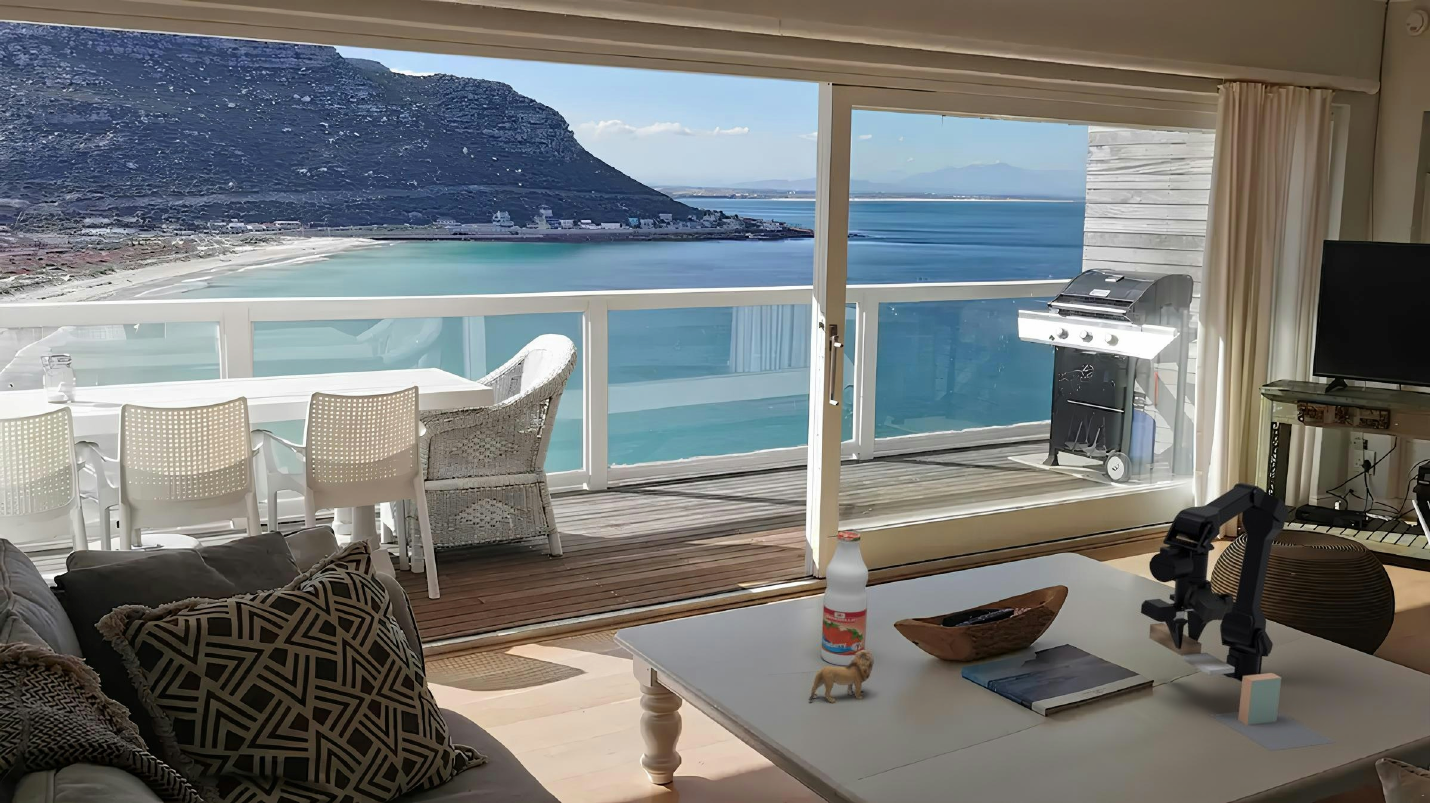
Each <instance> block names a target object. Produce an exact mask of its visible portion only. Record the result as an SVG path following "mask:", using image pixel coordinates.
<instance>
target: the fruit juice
mask: <svg viewBox="0 0 1430 803" xmlns="http://www.w3.org/2000/svg"><path fill="white" fill-rule="evenodd" d="M836 539H837V540H836V541H838V544H837V546H836V549H835V551H834V553H833V556H832V558H831V560H830V561H829V563H828V564H827V566H826V569H825V579H826V582H827V583H826V584H827V586H826V588H825V590H824V595H823V607H822V608H823V610H822V626H821V628H822V629H821V650H820V651H821V658H822V659H823V660H824V661H826V662H827V663H830V664H833V665H837V666H848V665H849V664H850V663H851V661H852V660H853V659H854V658H855V653H857V652H858V651H861V650H866V638H867V637H866V635H867V634H866V633H867V618H868V617H867V616H868V614H867V613H868V612H867V611H868V593H867V590H866V586H867V583H868V580H869V570H868V568H867V565H866V563H865V562H864V559H863V556H862V552H861V548H860V542H861V533H859V532H856V531H850V530H843V531H839V532H837V536H836Z"/></svg>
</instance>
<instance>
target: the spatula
mask: <svg viewBox="0 0 1430 803" xmlns="http://www.w3.org/2000/svg"><path fill="white" fill-rule="evenodd" d="M1148 636H1149V637H1148V638H1149V639H1150V640H1152V641H1154V642H1156V643H1158V645H1159V644H1160V645H1161V646H1163V647H1165V648H1167V649H1168V650H1171V652H1174V653H1175V654H1177V655H1180V656H1181V657H1182V661H1184V662H1186V663H1187V664H1189V665H1191V666H1192V667H1193V668H1195V669H1198V670H1199V671H1201V672H1203V673H1205V674H1206V675H1209V676H1214V675H1215V676H1216V675H1223V674H1224V675H1226V674H1225V673H1233V672H1234V669H1235V667H1233V666H1231V665H1229V664H1227V663H1226V662H1225V661H1223V660H1221V659H1220V658H1218V657H1216V656H1214V655H1212V654H1210V653H1208V652H1202V643H1201V642H1199V640H1198V641H1196V640H1194V639H1192V638H1190V637H1188V635H1186V634H1184V633H1183V640H1182V645H1181V649H1178V648H1176V647H1175V644H1174V641H1173V639H1172V636H1171V634H1170V631H1169V629H1168V627H1167V625H1166V623H1164V622H1158V623H1152V624H1150V626H1149V635H1148Z"/></svg>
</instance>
